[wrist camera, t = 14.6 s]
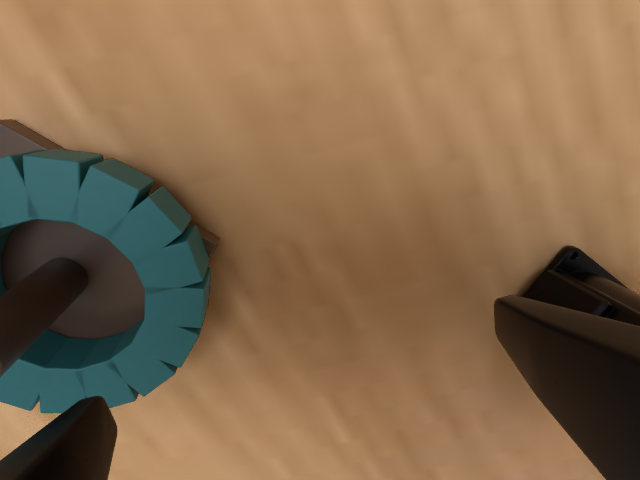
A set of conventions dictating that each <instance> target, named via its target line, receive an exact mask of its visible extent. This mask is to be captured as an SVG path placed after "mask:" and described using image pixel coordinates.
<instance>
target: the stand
mask: <svg viewBox="0 0 640 480" xmlns="http://www.w3.org/2000/svg"><path fill="white" fill-rule="evenodd" d="M40 149H44V150H45V151H46V150H51V149H63V150H65V149H64V148H62V147H60V146H58V145H57V144H55V143H53V142H51V141H50V140H48V139H46V138H44V137H42V136H41V135H39V134H37V133H35V132H34V131H32V130H30V129H28V128H27V127H25V126H23V125H21V124H20V123H18V122H16V121H14V120H12V119H9V120H0V158H1V157H4V156H8V155H14V154H19V153H24V152H29V151H35V150H40ZM147 197H148V196H147ZM193 225H196V226H197V227H198V230H199V233H200V235H201V238H202V241H203V244H204V246H205V249H206V252H207V254H208V257H209V258H210V256H211V254H212V253H213V251H214V250H215V248H216V247H217V244H218V241H219V237H218V236H216V235H214V234H212V233H211V232H209V231H207V230H205V229H204V228H202V227H200V226H198V225H197V224H195V223H193V222H191V221H190V222H189V223H188V225H187V227H190V226H193ZM0 258H1V268H2V279H3V285H4V286H5V288H6V290H7V291H6V292H5V293H3V294H2V295H1V296H0V378H1V377H2V375H3V374H4V373H5V372H6V371H7V370H8V369H9V368H10V367H11V366H12V365H13V364H14V363H15V362H16V361H17V360H18V359H19V358H20V357H21V356H22V355H23V354H24V353H25V352H26V351H27V350H28V348H29V347H30V346H31V345H32V344H33V343H34V342H35V341H36V340H37V339H38V338H39V337H40V336H41V335H42V334H43V333H44V332H45V331H46V330H50V331H52V332H55V333H58V334H60V335H63V336H66V337H68V338H85V339H102V338H105V337H109V336H112V335H116V334H119V333H123V332H126V331H127V330H128V329H130V328H131V327H132V326H134V325H135V324H136V323H138V322H139V321H140V320H142V319H143V318H144V312H145V289H144V287H143V285H142V283H141V281H140V278H139V276H138V274H137V272H136V269H135V267H134V265H133V263H132V262H131V261H130V260H129V259H128V258H127V257H126V256H125V255H124V254H123V253H122V252H120V251H119V250H118V249H117V248H116V247H115V246H114V245H113V244H112V243H111V242H110V241H109V240H108V239H107V238H105V237H103V236H101V235H98V234H96V233H94V232H92V231H90V230H87V229H85V228H83V227H81V226H79V225H76V224H74V223H69V222H59V221H49V220H39V219H35V220H31V221H27V222H23V223H21V224H19V225H18V226H17V227H16V228H14V229H13V230H12V231H11V232H10V234H9V237H8V239H7V241H6V244H5V246H4V248H3V251H2V253H1V255H0Z"/></svg>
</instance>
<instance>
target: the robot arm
mask: <svg viewBox="0 0 640 480" xmlns="http://www.w3.org/2000/svg"><path fill="white" fill-rule="evenodd" d="M571 254H572V256H571V257H570V255H571ZM494 319H495V332H496V335H497V338H498V340H499V341H500V343H501V344H502V346H503V347H504V349H505V350H506V352H507V353H508V355H509V356H510V358H511V359H512V361H513V362H514V364H515V365H516V367H517V368H518V370H519V371H520V373H521V374H522V376H523V377H524V379H525V380H526V382H527V383H528V385H529V386H530V387H531V389H532V390H533V392H534V393H535V394H536V396H537V397H538V398H539V399H540V401H541V402H542V403H543V404H544V406H545V407H546V408H547V409H548V410H549V412H550V413H551V414H552V415H553V416H554V418H555V419H556V420H557V421H558V423H559V424H560V425H561V426H562V427H563V429H564V430H565V431H566V432H567V433H568V435H569V436H570V437H571V438H572V439H573V441H574V442H575V443H576V444H577V445H578V447H579V448H580V449H581V450H582V451H583V453H584V454H585V455H586V456H587V457H588V459H589V460H590V461H591V462H592V463H593V465H594V466H595V467H596V468H597V469H598V471H599V472H600V473H601V474H602V475H603V477H604V478H605V479H606V480H640V295H639V294H637V293H635V292H633V291H631V290H629V289H628V288H627V287H626V286H624V285H623V284H622V283H621V282H619V281H618V280H617V279H616V278H615V277H613V276H612V275H611V274H610V273H608V272H607V271H606V270H605V269H603V268H602V267H601V266H600V265H598V264H597V263H596V262H595V261H594V260H592V259H591V258H590V257H589V256H587V255H586V254H585V253H584V252H582V251H581V250H580V249H578V248H576V247H574V246H567V247H565V248H564V249H563V250H562V251H561V253H560V254H559V255H558V256H557V257H556V258H555V260H554V261H553V262H552V263H551V264H550V266H549V267H548V268H547V269H546V270H545V271H544V273H543V274H542V275H541V276H540V277H539V278H538V280H537V281H536V282H535V283H534V284H533V285H532V287H531V288H530V289H529V290H528V291H527V292H526V294H525V295H524V296H523V297H519V296H515V295H510V296H506V297H502V298H498V299H496V301H495V303H494ZM116 438H117V425H116V422H115V420H114V418H113V416H112V414H111V412H110V409H109V407H108V405H107V403H106V401H105V399H104V398H103V397H102V396H93V397H89V398H85V399H81V400H79V401H78V402H76V403H75V404H74V405H72V406H71V407H70V408H69V409H67V410H66V411H65V412H63V413H62V414H61V415H59V416H58V417H57V418H55V419H54V420H53V421H52V422H50V423H49V424H48V425H46V426H45V427H44V428H42V429H41V430H40V431H38V432H37V433H36V434H35V435H33V436H32V437H31V438H29V439H28V440H27V441H25V442H24V443H23V444H21V445H20V446H19V447H18V448H16V449H15V450H14V451H12V452H11V453H10V454H8V455H7V456H6V457H4V458H3V459H2V460H0V480H108V475H109V471H110V466H111V461H112V457H113V452H114V447H115V443H116Z"/></svg>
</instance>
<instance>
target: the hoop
mask: <svg viewBox="0 0 640 480" xmlns="http://www.w3.org/2000/svg"><path fill="white" fill-rule="evenodd" d="M154 182H155V180H154V179H153V178H151V177H149V176H147V175H145V174H143V173H141V172H139V171H137V170H135V169H133V168H131V167H129V166H127V165H126V164H124V163H122V162H120V161H118V160H116V159H114V158H112V159H109V160H106V161H103V156H102V155H101V154H93V153H86V152H78V151H70V150H63V149H51V150H46V151H45V150H44V149H40V150H35V151H29V152H24V153H19V154H14V155H8V156H4V157H1V158H0V255H1V253H2V251H3V248H4V246H5V244H6V241H7V239H8V237H9V234H10V232H11V231H12V230H13V229H14V228H16V227H17V226H18V225H19V224H21V223H23V222H27V221H31V220H35V219H39V220H49V221H59V222H69V223H74V224H76V225H79V226H81V227H83V228H85V229H87V230H90V231H92V232H94V233H96V234H98V235H101V236H103V237H105V238H107V239H108V240H109V241H110V242H111V243H112V244H113V245H114V246H115V247H116V248H117V249H118V250H119V251H120V252H122V253H123V254H124V255H125V256H126V257H127V258H128V259H129V260H130V261H131V262H132V263H133V265H134V267H135V269H136V272H137V274H138V276H139V278H140V281H141V283H142V285H143V287H144V289H145V312H144V318H143V319H142V320H140V321H139V322H138V323H136V324H135V325H134V326H132V327H131V328H130V329H128V330H127V331H126V332H123V333H119V334H116V335H112V336H109V337H105V338H102V339H85V338H68V337H66V336H63V335H60V334H58V333H55V332H52V331H50V330H46V331H45V332H44V333H43V334H42V335H41V336H40V337H39V338H38V339H37V340H36V341H35V342H34V343H33V344H32V345H31V346H30V347H29V348H28V350H27V351H26V352H25V353H24V354H23V355H22V356H21V357H20V358H19V359H18V360H17V361H16V362H15V363H14V364H13V365H12V366H11V367H10V368H9V369H8V370H7V371H6V372H5V373H4V374H3V375H2V377H1V378H0V402H3V403H6V404H9V405H13V406H16V407H19V408H22V409H26V410H29V411H31V410H32V409H33V408H34V407H35V406H36V404H37V403H38V402H39V400H40V411H41V413H63V412H65V411H66V410H67V409H69V408H70V407H71V406H72V405H74V404H75V403H76V402H78V401H79V400H81V399H85V398H89V397H93V396H102V397H103V398H104V399H105V401H106V403H107V405H108V407H109V408H112V407H115V406H119V405H122V404H126V403H129V402H132V401H135V400H136V399H137V397H138V394H141V395H142V396H146V395H147V394H148V393H150V392H151V391H152V390H154V389H155V388H156V387H158V386H159V385H160V384H162V383H163V382H164V381H166V380H167V379H169V378H170V377H171V376H173V375H174V374H175V372H176V369H177V367H181V366H182V365H183V363H184V361H185V360H186V358H187V356H188V354H189V353H190V351H191V349H192V347H193V346H194V344H195V342H196V341H197V339H198V337H199V335H200V331H201V328H202V325H203V321H204V317H205V314H206V310H207V306H208V302H209V289H210V276H211V268H207V267H208V264H209V261H210V260H209V257H208V254H207V252H206V249H205V246H204V244H203V241H202V238H201V235H200V233H199V230H198V227H197V226H196V225H193V226H190V227H187V225H188V223H189V222H190V220H191V219H192V217H191V216H190V215H189V213H188V212H187V211H186V210H185V209H184V208H183V207H182V206H181V205H180V204H179V203H178V201H177V200H176V199H175V198H174V197H173V196H172V195H171V194H170V193H169V192H168V191H167V189H166V188H165V187H164V186H161V187H160V188H158V189H157V190H156V191H155V192H153V193H152V194H151V195H149V196H148V194H149V192H150V190H151V188H152V186H153V184H154ZM147 196H148V197H147ZM6 291H7V290H6V288H5V286H4V285H3V279H2V268H1V258H0V296H1V295H2V294H3V293H5V292H6Z"/></svg>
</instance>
